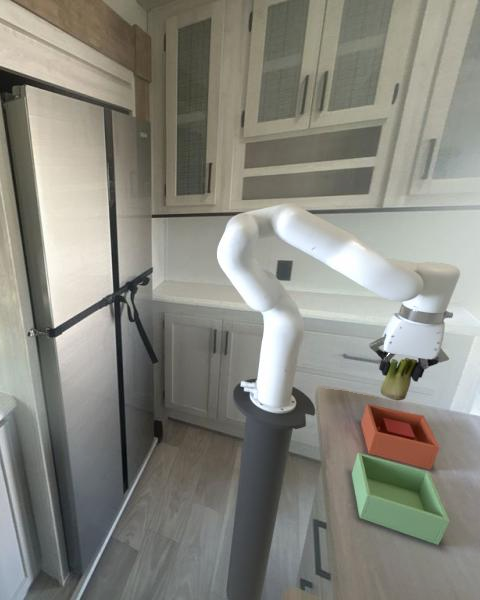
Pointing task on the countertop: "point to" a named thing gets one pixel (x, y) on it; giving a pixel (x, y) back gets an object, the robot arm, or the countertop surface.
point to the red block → (396, 429)
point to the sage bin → (399, 498)
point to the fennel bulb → (398, 379)
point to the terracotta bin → (396, 447)
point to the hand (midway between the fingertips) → (398, 375)
